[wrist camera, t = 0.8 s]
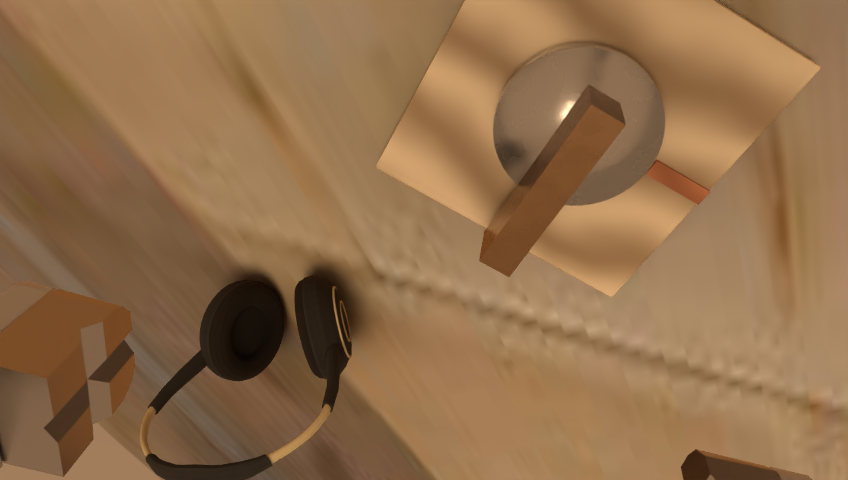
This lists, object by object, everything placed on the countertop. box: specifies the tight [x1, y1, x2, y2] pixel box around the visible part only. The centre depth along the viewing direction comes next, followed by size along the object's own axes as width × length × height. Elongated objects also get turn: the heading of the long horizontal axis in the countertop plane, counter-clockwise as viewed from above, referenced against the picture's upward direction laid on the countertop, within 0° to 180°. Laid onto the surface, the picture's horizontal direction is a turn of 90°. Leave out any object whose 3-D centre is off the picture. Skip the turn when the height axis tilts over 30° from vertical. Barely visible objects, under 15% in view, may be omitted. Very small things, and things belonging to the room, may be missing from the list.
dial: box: [479, 42, 665, 277], centre depth 43 cm, size 16×11×5 cm
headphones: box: [140, 276, 352, 480], centre depth 50 cm, size 9×15×20 cm, turn 100°
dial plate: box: [376, 0, 820, 297], centre depth 44 cm, size 21×21×2 cm
